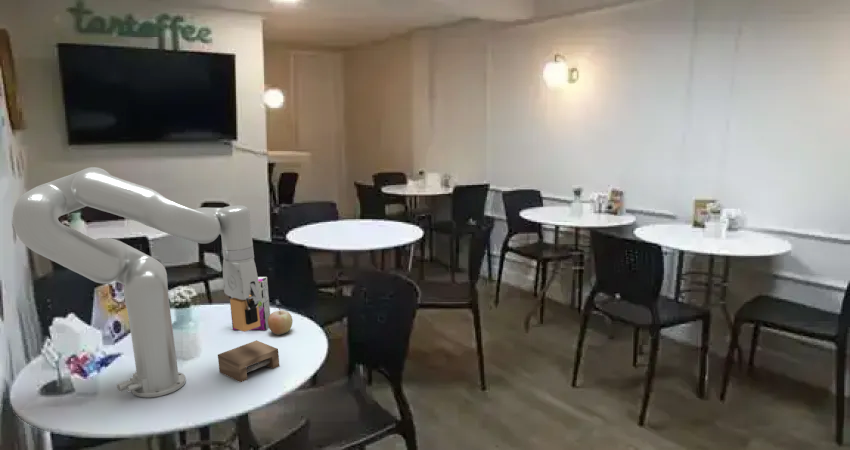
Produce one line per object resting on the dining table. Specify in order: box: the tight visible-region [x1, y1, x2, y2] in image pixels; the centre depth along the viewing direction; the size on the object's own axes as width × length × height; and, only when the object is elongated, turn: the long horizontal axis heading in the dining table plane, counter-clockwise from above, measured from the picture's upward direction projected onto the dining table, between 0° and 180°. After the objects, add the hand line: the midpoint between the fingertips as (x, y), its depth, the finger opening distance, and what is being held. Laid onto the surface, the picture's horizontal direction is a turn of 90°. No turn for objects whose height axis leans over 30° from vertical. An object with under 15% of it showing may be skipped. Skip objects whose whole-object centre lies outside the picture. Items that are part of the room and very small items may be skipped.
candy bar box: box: [229, 276, 271, 331], centre depth 192 cm, size 11×5×16 cm, turn 84°
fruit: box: [268, 307, 293, 336], centre depth 188 cm, size 8×7×8 cm
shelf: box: [217, 340, 281, 383], centre depth 163 cm, size 12×10×5 cm
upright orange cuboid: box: [229, 295, 261, 333], centre depth 161 cm, size 5×5×8 cm
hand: (245, 319), depth 161 cm, fingers closed on upright orange cuboid, 5 cm apart
